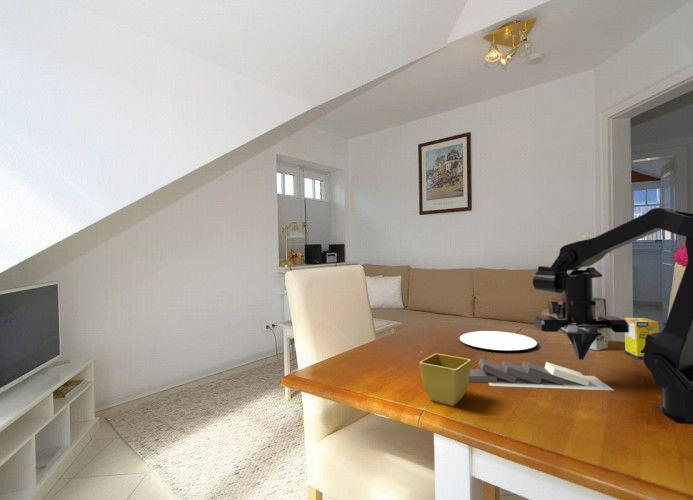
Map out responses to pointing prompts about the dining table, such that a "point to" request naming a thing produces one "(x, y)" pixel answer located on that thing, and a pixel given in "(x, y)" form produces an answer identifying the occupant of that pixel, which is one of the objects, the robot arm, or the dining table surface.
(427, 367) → the flower pot
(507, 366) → the domino
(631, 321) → the supplement box
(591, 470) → the dining table surface
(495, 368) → the domino
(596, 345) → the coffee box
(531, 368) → the domino
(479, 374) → the domino
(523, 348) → the plate
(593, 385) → the runner mat
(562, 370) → the domino
